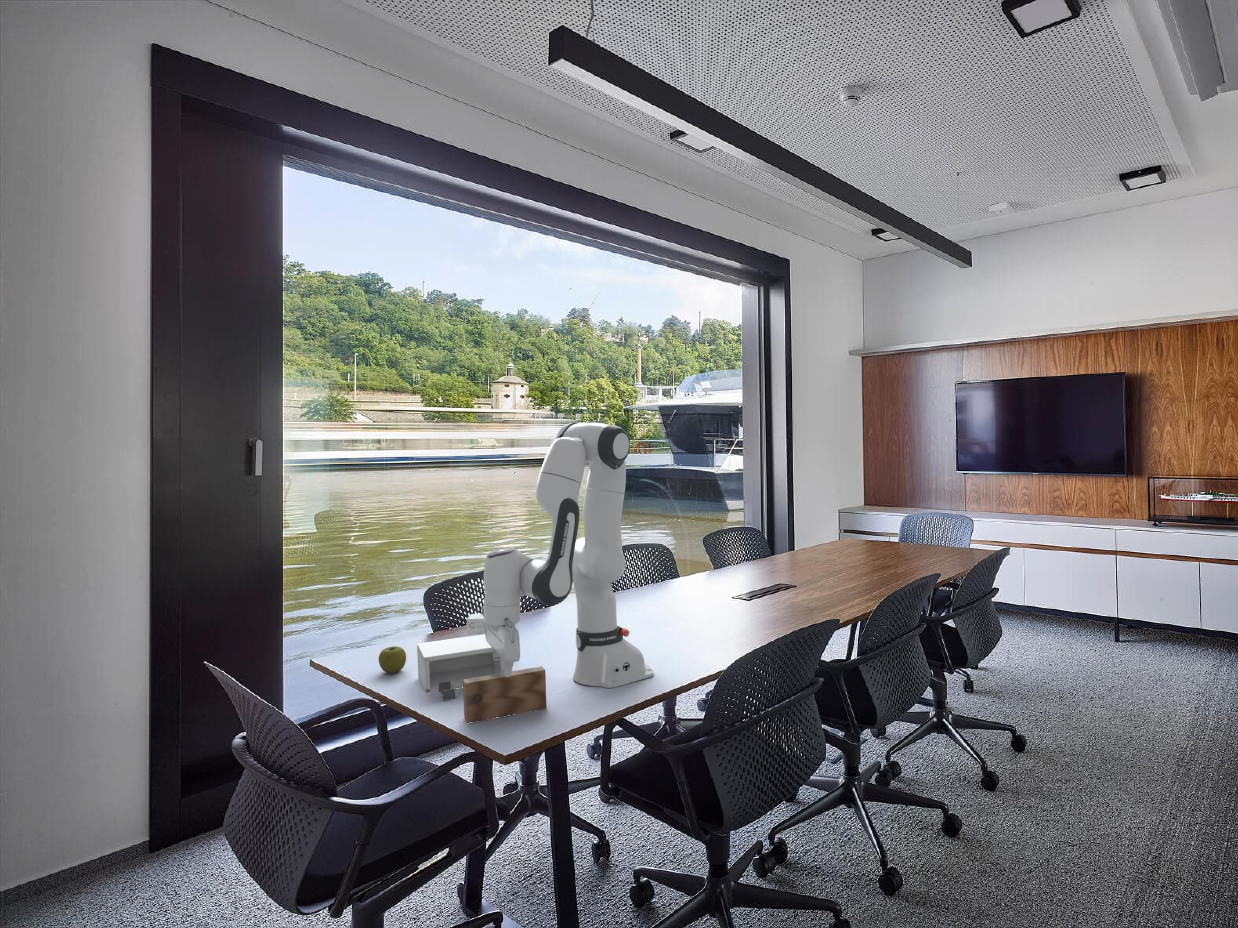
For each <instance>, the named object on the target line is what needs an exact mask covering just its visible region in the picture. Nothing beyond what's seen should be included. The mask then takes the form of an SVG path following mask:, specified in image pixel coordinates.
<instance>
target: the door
mask: <svg viewBox="0 0 1238 928" xmlns="http://www.w3.org/2000/svg"><path fill="white" fill-rule="evenodd" d="M546 683H547V679H546V669H545V668H544V667H543V666H536V667H531V668H530V667H529V668H525V669H519V670H517V669H516V670H514V671H513V670H512V675H511V676H510V677H505V676H504V675H503V673H499V674H493V675H487V676H481V677H475V678H469V679H463V688H462V689H463V690H462V691H463V692H462V693H463V694H462V695H463V714H464V719H465V720H464V719H463V720H464V721H465V723H466V722H467V723H470V722H475V723H477V722H476V721H480V722H484V721H483V720H485V721H488V720H487V719H490V720H493V719H492V718H496V717H501V718H505V717H504V716H506V717H509V716H508V715H511V716H514V715H513V714H516V715H520V714H525V712H527V713H531V712H530V711H532V712H536V711H535V710H537V711H541V710H547V709H546V708H547V705H548V704H547V684H546ZM496 719H497V718H496ZM467 723H466V724H467ZM470 724H471V723H470Z"/></svg>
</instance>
